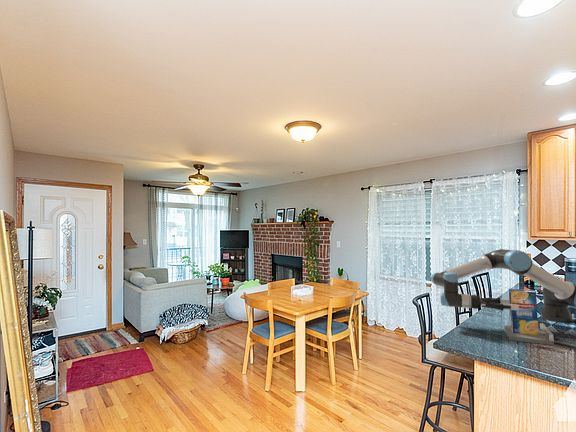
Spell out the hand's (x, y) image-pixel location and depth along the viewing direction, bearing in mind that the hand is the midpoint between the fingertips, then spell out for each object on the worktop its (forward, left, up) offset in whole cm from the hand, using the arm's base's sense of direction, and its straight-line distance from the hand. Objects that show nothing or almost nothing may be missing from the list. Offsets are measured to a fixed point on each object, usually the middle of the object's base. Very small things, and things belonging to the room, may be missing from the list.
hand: (516, 305), depth 170 cm
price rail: (-9, +8, -14) cm, 18 cm away
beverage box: (-2, +2, -14) cm, 14 cm away
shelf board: (-3, +2, -16) cm, 16 cm away
